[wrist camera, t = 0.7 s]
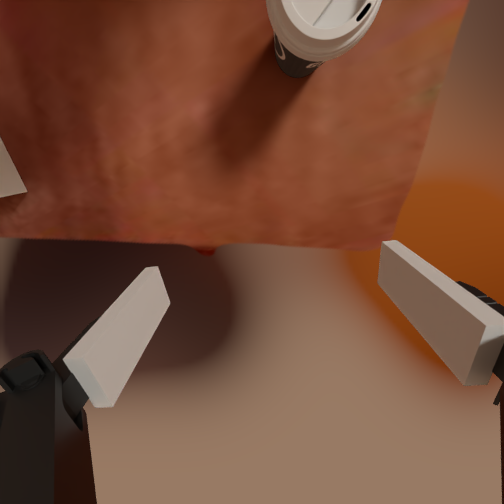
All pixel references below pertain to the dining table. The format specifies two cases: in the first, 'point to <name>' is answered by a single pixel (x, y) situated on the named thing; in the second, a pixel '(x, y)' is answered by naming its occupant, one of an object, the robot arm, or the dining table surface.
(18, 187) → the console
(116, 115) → the dining table surface
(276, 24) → the coffee cup
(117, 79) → the dining table surface
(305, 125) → the dining table surface
